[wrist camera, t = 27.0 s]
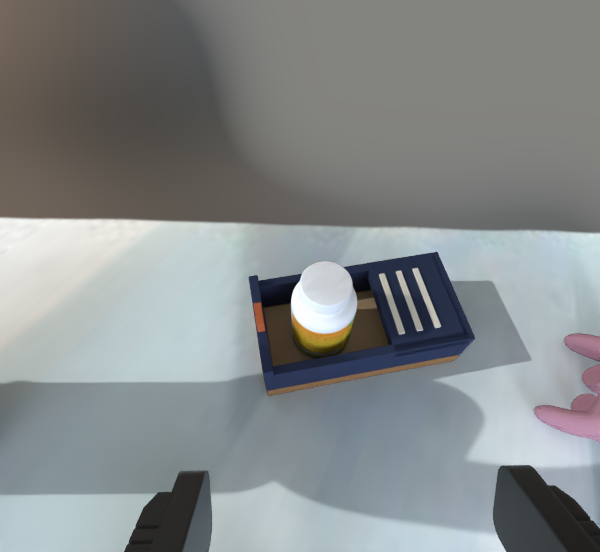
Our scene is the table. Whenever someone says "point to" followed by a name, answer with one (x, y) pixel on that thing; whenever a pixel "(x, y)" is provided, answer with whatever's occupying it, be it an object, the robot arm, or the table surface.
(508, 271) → the table surface
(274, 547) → the table surface
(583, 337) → the video game controller
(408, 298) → the navy storage tray
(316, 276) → the supplement bottle
